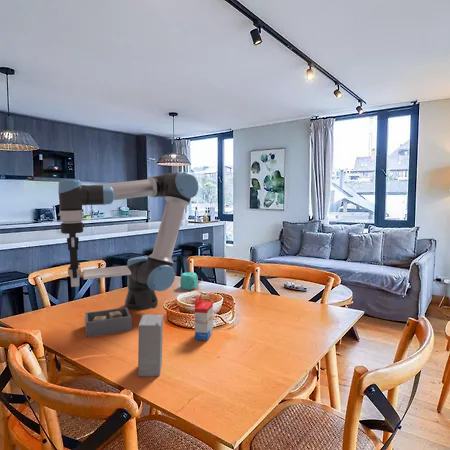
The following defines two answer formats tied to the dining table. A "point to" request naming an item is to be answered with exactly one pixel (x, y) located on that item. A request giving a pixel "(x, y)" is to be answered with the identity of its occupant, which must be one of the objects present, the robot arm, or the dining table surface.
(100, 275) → the lid
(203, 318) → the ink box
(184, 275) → the decorative dice
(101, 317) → the block
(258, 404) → the dining table surface
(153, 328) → the skincare box
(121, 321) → the tub
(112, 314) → the block
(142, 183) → the robot arm
